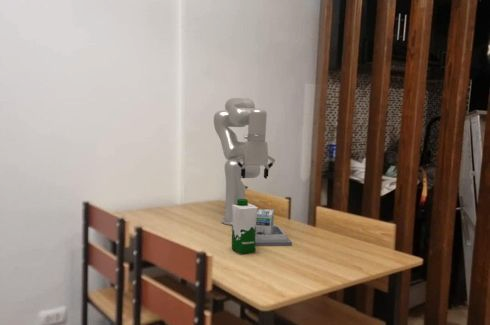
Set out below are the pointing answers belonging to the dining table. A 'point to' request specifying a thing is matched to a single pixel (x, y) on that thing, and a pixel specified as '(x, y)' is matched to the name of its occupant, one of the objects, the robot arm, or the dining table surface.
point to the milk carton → (244, 227)
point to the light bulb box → (264, 222)
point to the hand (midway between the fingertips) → (254, 177)
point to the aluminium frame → (273, 235)
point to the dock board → (274, 242)
